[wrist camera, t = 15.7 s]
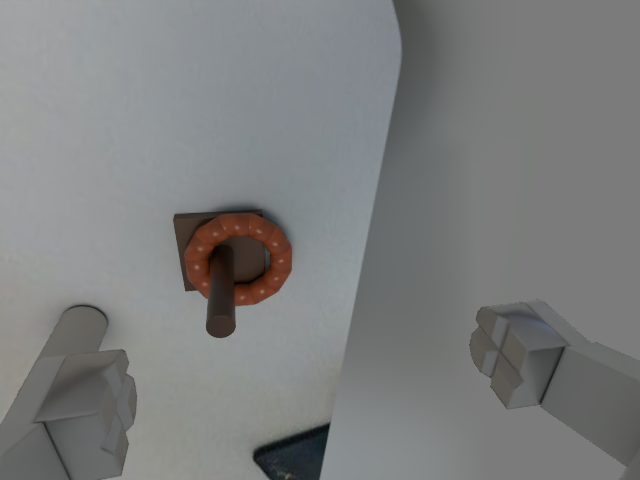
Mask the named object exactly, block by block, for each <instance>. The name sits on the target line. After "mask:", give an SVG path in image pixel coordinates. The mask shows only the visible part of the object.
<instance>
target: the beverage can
mask: <svg viewBox="0 0 640 480" xmlns="http://www.w3.org/2000/svg"><path fill="white" fill-rule="evenodd" d="M106 329H107V321H106V318H105V317H104V316H103V314H102V313H100V312H99V311H98V310H96V309H94V308H91V307H83V306H80V307H74V308H71V309H69V310H67V311H66V312H64V313H63V315H62V316H61V318H60V319H59V321H58V323H57V325H56V326H55V328H54V330H53V332H52V334H51V335H50V337H49V339H48V341H47V342H46V344H45V346H44V348H43V350H42V351H41V353H40V355H39V357H38V358H37V360H36V362H37V361H38V360H40V359H41V358H42V357H51V356H61V355H70V354H77V353H87V352H98V350H99V347H100V344H101V342H102V339H103V337H104V334H105V332H106ZM36 362H35V363H36ZM33 366H34V365H33ZM32 368H33V367H32ZM31 370H32V369H31ZM30 372H31V371H30ZM30 372H29V373H30ZM28 375H29V374H28ZM27 377H28V376H27ZM26 379H27V378H26ZM24 382H25V381H24ZM23 384H24V383H23ZM22 386H23V385H22ZM21 388H22V387H21ZM21 388H20V389H21ZM19 391H20V390H19ZM18 393H19V392H18ZM17 395H18V394H17Z"/></svg>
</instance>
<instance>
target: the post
mask: <svg viewBox="0 0 640 480" xmlns="http://www.w3.org/2000/svg"><path fill="white" fill-rule="evenodd" d="M234 213H253V214H255V215H258V216H260V217H262V210H261V209H260V210H244V211H228V212H211V213H195V214H179V215H174V219H173V222H174V228H175V233H176V239H177V245H178V251H179V257H180V262H181V268H182V274H183V280H184V286H185V291H196V290H197V289H196V288H195V287H194V285H193V284H192V283H191V282H190V281H189V280H188V277H187V271H186V265H185V258H184V253H185V250H186V248H187V246H188V244H189V243H190V241H191V239H192V237H193V235H194V233H195V231H196V230H197V229H198V228H199V227H201V226H202V225H204V224H206V223H208V222H209V221H211V220H213V219H214V218H216V217H218V216H220V215H222V214H234ZM209 264H210V278H209V292H208V306H207V320H206V330H207V332H208V333H209V334H210V335H211V336H213V337H216V338H224V337H227V336H229V335H231V334H232V333H233V332H234V330H235V327H236V321H235V285H237V284H250V283H252V282H253V281H255V280H257V279H259V278H260V277H262V276H263V275H264V274H265V256H264V245H263V243H262V242H259V241H257V240H255V239H252V238H250V237H248V236H243V237H229V238H227V239H226V240H224V241H222V242H220V243H219V244H217V245H215V247H214V249H213V250H212V252H211V254H210V256H209Z"/></svg>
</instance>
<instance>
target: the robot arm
mask: <svg viewBox="0 0 640 480" xmlns="http://www.w3.org/2000/svg"><path fill="white" fill-rule="evenodd" d="M476 321H477V323H478V324H479V327H478V328H477V329H476V330H475V331H474V332H473V333H472V335H471V340H470V352H471V356H472V359H473V361H474V364H475V365H476V367H477V368H478V370H479V371H480V372H481V373H483V374H485V375H486V376H488V377H490V378H491V386H490V387H491V388H492V389H493V391H494V392H495V393H496V395H497V396H498V398H499V399H500V400H501V402H502V403H503V404H504V406H505V407H506V409H513V408H521V407H528V406H535V405H541V406H540V407H541V408H543V409H544V410H546V411H547V412H548V413H550V414H551V415H553V416H554V417H556V418H557V419H558V420H560V421H561V422H563V423H564V424H566V425H567V426H569V427H570V428H571V429H573V430H574V431H576V432H577V433H579V434H580V435H581V436H583V437H584V438H586V439H587V440H589V441H590V442H592V443H593V444H595V445H596V446H598V447H599V448H600V449H602V450H603V451H605V452H606V453H607V454H609V455H610V456H612V457H613V458H615V459H616V460H618V461H619V462H621V463H622V464H623V465H625V466H626V467H627V468H626V469H625V471H624V472H623V474H622V475H621V477H620V479H619V480H640V361H639V360H637V359H635V358H632V357H630V356H628V355H625V354H623V353H621V352H618V351H616V350H614V349H611V348H609V347H607V346H604V345H601V344H599V343H597V342H596V343H590V342H589V341H588V340H587V339H586V338H585V337H584V336H583V335H581V334H580V333H579V332H578V331H577V330H576V329H575V328H574V327H572V326H571V325H570V324H569V323H568V322H567V321H566V320H565V319H563V318H562V317H561V316H560V315H559V314H558V313H557V312H556V311H554V310H553V309H552V308H551V307H550V306H549V305H548V304H546V302H544V301H541V300H539V299H536V300H529V301H521V302H518V303H517V302H516V303H508V304H500V305H492V306H484V307H481V309H480V310H479V311H478V313H477V316H476ZM128 365H129V361H128V358H127V355H126V352H125V351H124V350H122V349H119V350H108V351H98V352H87V353H77V354H70V355H61V356H51V357H42V358H41V359H40V360H38V361H37V362H36V363H35V364H34V366H33V368H32V370H31V372H30V373H29V375H28V377H27V379H26V380H25V382H24V384H23V386H22V388H21V389H20V391H19V393H18V395H17V396H16V398H15V400H14V402H13V404H12V405H11V407H10V409H9V411H8V412H7V414H6V416H5V418H4V420H3V421H2V423H1V425H0V480H102V479H107V478H112V477H117V476H121V475H122V470H123V466H124V462H125V458H126V454H127V449H128V445H129V443H128V440H127V436H126V433H125V432H126V431H127V430H128V429H129V428H130V427H131V426H132V425H133V424H134V419H135V414H136V404H137V394H136V386H135V382H134V378H133V377H131V376H130V375H128V374H127V373H126V372H127V368H128Z"/></svg>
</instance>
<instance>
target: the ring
mask: <svg viewBox="0 0 640 480" xmlns="http://www.w3.org/2000/svg"><path fill="white" fill-rule="evenodd" d="M243 236H248V237H250V238H252V239H255V240H257V241H259V242H262V243H263V245H264V246H265V248H266V249H267V250H268V252H269V253H270V266H269V267H268V269H267V271H266V272H265V274H264V275H263V276H262V277H260V278H259V279H257V280H255V281H253V282H252V283H250V284H237V285H235V306H243V305H254V304H257V303H259V302H261V301H263V300H264V299H266V298H268V297H270V296H272V295H273V294H275V293H277V292H278V291H279V290H280V288H281V287H282V285H283V284H284V282H285V281H286V279H287V278H288V276H289V274H290V273H291V270H292V247H291V244H290V243H289V241H288V240H287V238H286V237H285V235H284V234H283V232H282V231H281V229H280V228H279V227H278V225H276V224H275V223H273V222H271V221H269V220H266V219H264V218H262V217H260V216H258V215H255V214H253V213H234V214H222V215H220V216H218V217H216V218H214V219H213V220H211V221H209V222H208V223H206V224H204V225H202V226H201V227H199V228H198V229H197V230H196V231H195V233H194V235H193V237H192V239H191V241H190V243H189V244H188V246H187V248H186V250H185V253H184V258H185V265H186V271H187V277H188V280H189V281H190V282H191V283H192V284H193V285H194V287H195V288H196V289H197V290H198V291H199V292H200V293H201V294H202V295H203V296H204V297H205V298H207V299H208V292H209V278H210V264H209V256H210V254H211V252H212V250H213V249H214V247H215V245H217V244H219V243H220V242H222V241H224V240H226V239H227V238H229V237H243Z"/></svg>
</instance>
